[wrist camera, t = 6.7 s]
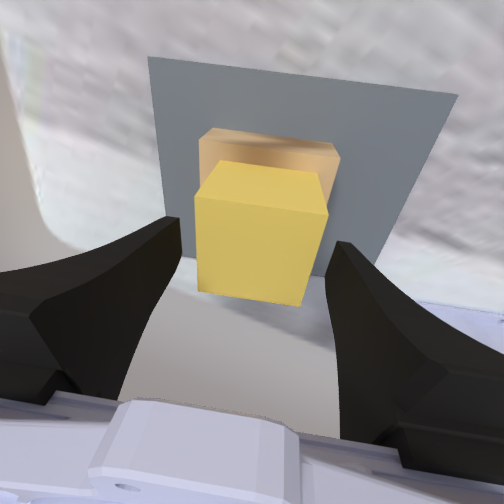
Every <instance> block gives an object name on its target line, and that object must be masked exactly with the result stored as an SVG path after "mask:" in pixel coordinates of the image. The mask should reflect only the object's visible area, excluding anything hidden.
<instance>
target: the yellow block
mask: <svg viewBox="0 0 504 504" xmlns="http://www.w3.org/2000/svg"><path fill="white" fill-rule="evenodd" d="M194 202H195V229H196V255H197V281H198V291H199V292H205V293H212V294H218V295H225V296H231V297H238V298H244V299H251V300H257V301H264V302H270V303H277V304H283V305H290V306H296V307H300V305H301V302H302V299H303V296H304V293H305V290H306V286H307V283H308V280H309V277H310V274H311V270H312V267H313V264H314V261H315V258H316V255H317V251H318V248H319V245H320V242H321V239H322V236H323V232H324V229H325V226H326V223H327V220H328V216H329V214H328V210H327V207H326V203H325V199H324V196H323V192H322V188H321V185H320V181H319V177H318V174H317V173H310V172H303V171H296V170H289V169H281V168H274V167H267V166H259V165H252V164H245V163H238V162H230V161H223V160H220V161H219V162H218V164H217V165H216V166H215V168H214V169H213V171H212V172H211V173H210V175H209V176H208V178H207V179H206V180H205V182H204V183H203V185H202V186H201V187H200V189H199V190H198V192H197V193H196V195H195V196H194Z"/></svg>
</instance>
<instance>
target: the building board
mask: <svg viewBox="0 0 504 504" xmlns="http://www.w3.org/2000/svg"><path fill="white" fill-rule="evenodd" d="M148 66H149V74H150V83H151V91H152V100H153V108H154V117H155V126H156V134H157V143H158V151H159V160H160V169H161V177H162V186H163V194H164V203H165V211H166V216H171V217H178V218H180V228H181V241H182V256H187V257H194V258H197V255H196V229H195V202H194V196H195V195H196V193H197V192H198V190H199V189H200V168H199V139H200V138H201V137H202V136H204V135H205V134H206V133H207V132H208V131H210V130H211V129H212V128H220V129H227V130H235V131H243V132H250V133H258V134H265V135H273V136H281V137H288V138H296V139H304V140H311V141H319V142H327V143H332V144H333V146H334V147H335V149H336V151H337V153H338V154H339V156H340V158H341V159H340V163H339V166H338V169H337V173H336V176H335V179H334V183H333V186H332V189H331V193H330V196H329V199H328V203H327V206H326V207H327V210H328V214H329V216H328V220H327V223H326V226H325V229H324V232H323V236H322V239H321V242H320V245H319V248H318V251H317V255H316V258H315V261H314V264H313V267H312V270H311V274H310V275H315V276H322V277H325V273H326V270H327V267H328V264H329V262H330V259H331V256H332V253H333V250H334V248H335V245H336V242H337V241H344V242H351V243H352V244H353V245H354V246H355V247H356V248H357V249H358V250H359V251H360V252H361V253H362V254H363V255H364V256H365V257H366V258H367V259H368V260H369V261H370V262H371V263H372V264H373V265H374V264H375V262H376V260H377V258H378V256H379V254H380V252H381V250H382V248H383V246H384V244H385V242H386V240H387V238H388V236H389V234H390V232H391V230H392V228H393V226H394V224H395V222H396V220H397V218H398V216H399V214H400V212H401V210H402V208H403V206H404V204H405V202H406V200H407V198H408V196H409V194H410V192H411V190H412V188H413V186H414V184H415V182H416V180H417V178H418V176H419V174H420V172H421V170H422V168H423V166H424V164H425V162H426V160H427V158H428V156H429V154H430V152H431V150H432V148H433V146H434V144H435V141H436V139H437V137H438V135H439V133H440V131H441V129H442V127H443V125H444V123H445V121H446V119H447V117H448V115H449V113H450V111H451V109H452V107H453V105H454V103H455V101H456V99H457V97H458V95H457V94H450V93H442V92H434V91H426V90H418V89H409V88H401V87H393V86H385V85H377V84H369V83H361V82H353V81H345V80H336V79H328V78H320V77H312V76H304V75H296V74H288V73H280V72H271V71H263V70H255V69H247V68H239V67H231V66H223V65H215V64H206V63H198V62H190V61H182V60H174V59H166V58H158V57H148Z"/></svg>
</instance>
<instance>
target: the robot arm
mask: <svg viewBox="0 0 504 504" xmlns="http://www.w3.org/2000/svg"><path fill="white" fill-rule="evenodd" d="M181 256H182V241H181V228H180V218H178V217H171V216H165V217H163V218H161V219H158V220H156V221H154V222H153V223H151V224H149V225H147V226H145V227H143V228H141V229H139V230H137V231H135V232H133V233H131V234H129V235H127V236H124V237H122V238H120V239H118V240H116V241H114V242H111V243H109V244H107V245H104V246H102V247H99V248H96V249H93V250H91V251H88V252H85V253H82V254H79V255H75V256H72V257H68V258H65V259H61V260H58V261H54V262H50V263H46V264H42V265H37V266H33V267H28V268H23V269H18V270H13V271H7V272H0V504H504V315H502V314H495V313H489V312H482V311H475V310H469V309H462V308H455V307H449V306H442V305H435V304H429V303H422V302H415V301H414V300H412V299H411V298H410V297H409V296H407V295H406V294H405V293H403V292H402V291H401V290H400V289H399V288H397V287H396V286H395V285H394V284H393V283H392V282H391V281H389V280H388V279H387V278H386V277H385V276H384V275H383V274H382V273H381V272H380V271H379V270H378V269H377V268H376V267H375V266H374V265H373V264H372V263H371V262H370V261H369V260H368V259H367V258H366V257H365V256H364V255H363V254H362V253H361V252H360V251H359V250H358V249H357V248H356V247H355V246H354V245H353V244H352V243H351V242H344V241H337V242H336V245H335V248H334V250H333V253H332V256H331V259H330V262H329V264H328V267H327V270H326V273H325V291H326V298H327V303H328V309H329V314H330V319H331V324H332V328H333V333H334V339H335V346H336V357H337V368H338V369H337V370H338V386H339V409H340V439H336V438H330V437H325V436H318V435H313V434H307V433H301V432H295V431H293V430H292V429H291V428H289V427H288V426H286V425H285V424H284V423H282V422H280V421H276V420H273V419H270V418H266V417H262V416H258V415H253V414H247V413H241V412H235V411H229V410H223V409H217V408H211V407H206V406H199V405H194V404H188V403H182V402H176V401H170V400H165V399H158V398H139V397H138V398H135V399H132V400H129V401H127V402H120V401H117V399H118V396H119V394H120V391H121V388H122V385H123V382H124V379H125V376H126V374H127V371H128V368H129V366H130V363H131V361H132V358H133V355H134V353H135V350H136V348H137V345H138V343H139V340H140V338H141V336H142V333H143V331H144V329H145V327H146V324H147V322H148V320H149V317H150V315H151V313H152V311H153V309H154V308H155V306H156V304H157V303H158V301H159V299H160V297H161V296H162V294H163V292H164V290H165V289H166V287H167V285H168V284H169V282H170V280H171V278H172V277H173V275H174V273H175V271H176V269H177V266H178V264H179V261H180V259H181Z"/></svg>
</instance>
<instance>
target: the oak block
mask: <svg viewBox="0 0 504 504" xmlns="http://www.w3.org/2000/svg"><path fill="white" fill-rule="evenodd" d="M340 159H341V158H340V156H339V154H338V153H337V151H336V149H335V147H334V146H333V144H332V143H327V142H319V141H311V140H304V139H296V138H288V137H281V136H273V135H265V134H258V133H250V132H243V131H235V130H227V129H220V128H212V129H211V130H210V131H208V132H207V133H206V134H205V135H204V136H202V137H201V138H200V139H199V168H200V187H201V186H202V185H203V183H204V182H205V180H206V179H207V178H208V176H209V175H210V173H211V172H212V171H213V169H214V168H215V166H216V165H217V164H218V162H219V161H220V160H223V161H230V162H238V163H245V164H252V165H259V166H267V167H274V168H281V169H289V170H296V171H303V172H310V173H317V174H318V177H319V181H320V185H321V188H322V192H323V196H324V199H325V203H326V206H327V203H328V199H329V196H330V193H331V189H332V186H333V183H334V179H335V176H336V173H337V169H338V166H339V163H340Z"/></svg>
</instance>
